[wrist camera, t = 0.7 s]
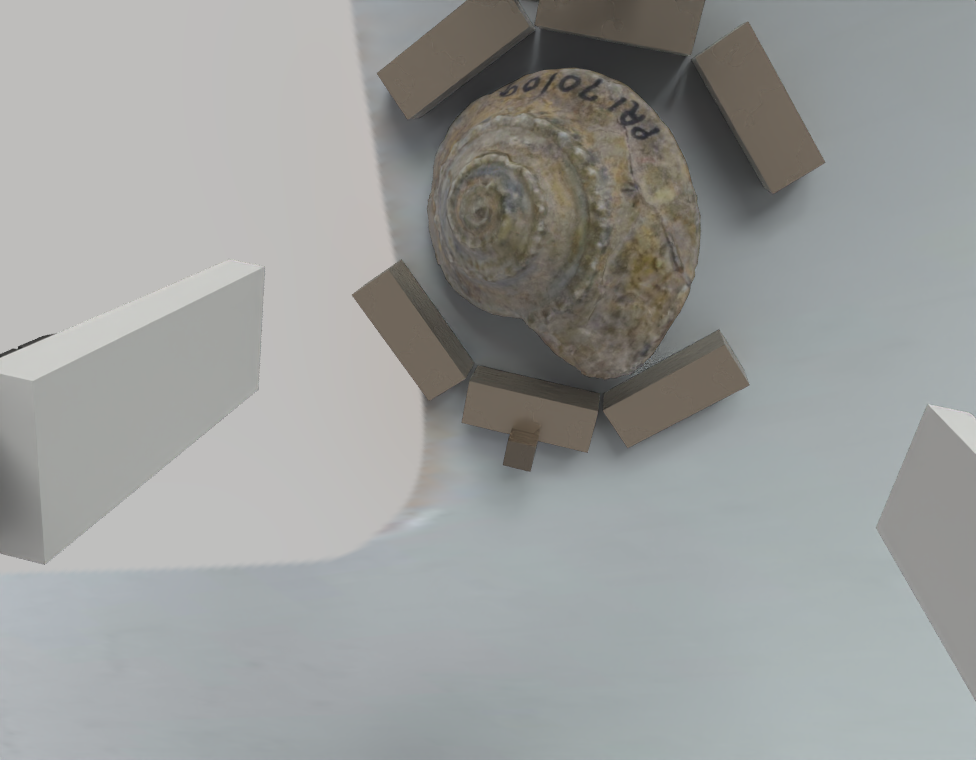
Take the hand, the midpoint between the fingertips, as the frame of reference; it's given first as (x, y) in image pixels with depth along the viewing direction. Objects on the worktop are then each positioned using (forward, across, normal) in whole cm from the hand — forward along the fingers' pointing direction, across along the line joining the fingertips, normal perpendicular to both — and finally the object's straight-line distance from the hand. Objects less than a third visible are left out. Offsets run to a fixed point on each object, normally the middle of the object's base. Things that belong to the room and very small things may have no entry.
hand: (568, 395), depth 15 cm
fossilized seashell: (+18, -1, 0) cm, 18 cm away
